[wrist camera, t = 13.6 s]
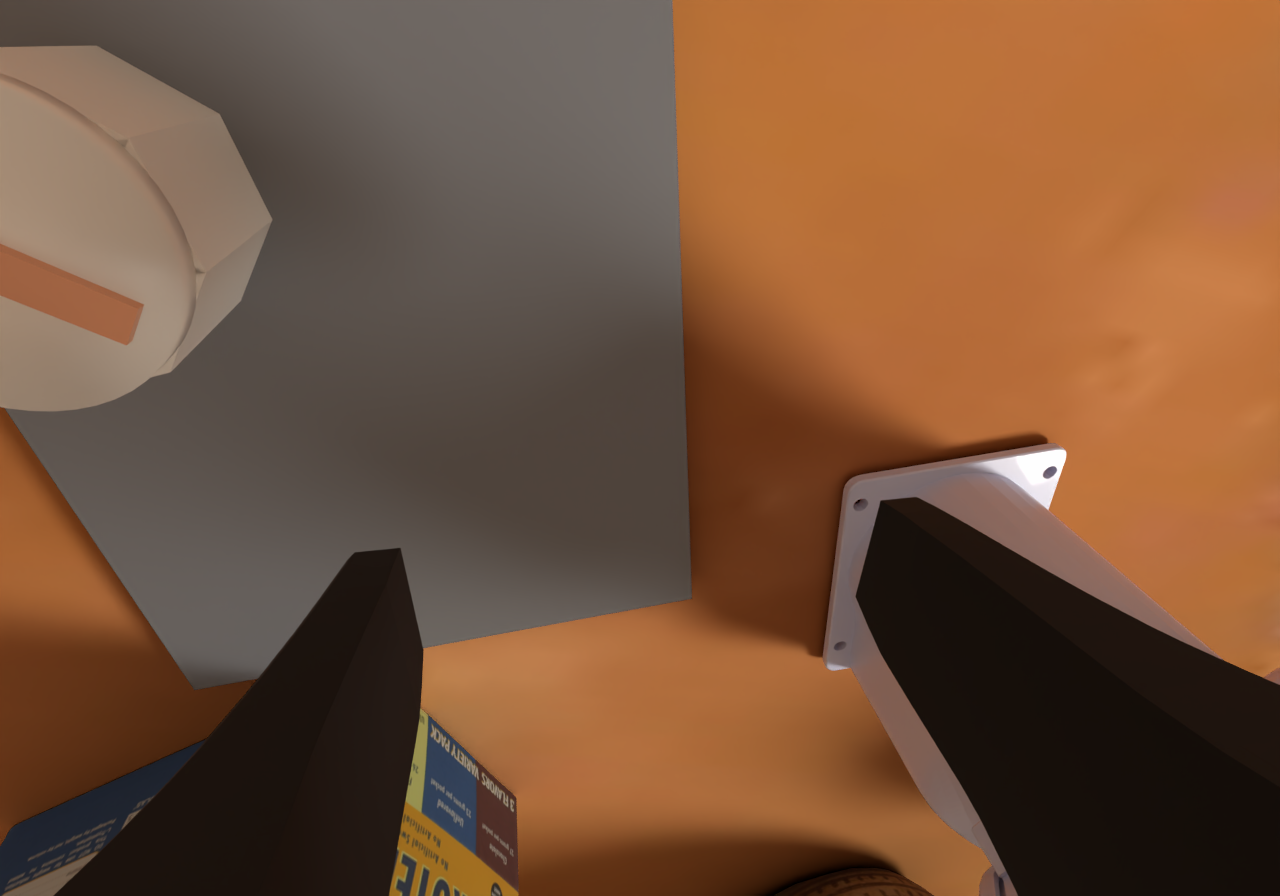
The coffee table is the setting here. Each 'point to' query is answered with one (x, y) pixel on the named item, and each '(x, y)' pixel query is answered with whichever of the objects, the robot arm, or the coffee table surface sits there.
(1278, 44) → the coffee table surface
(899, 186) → the coffee table surface
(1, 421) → the coffee table surface
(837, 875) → the ceramic vessel
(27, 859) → the protein box
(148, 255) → the cap
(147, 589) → the base
